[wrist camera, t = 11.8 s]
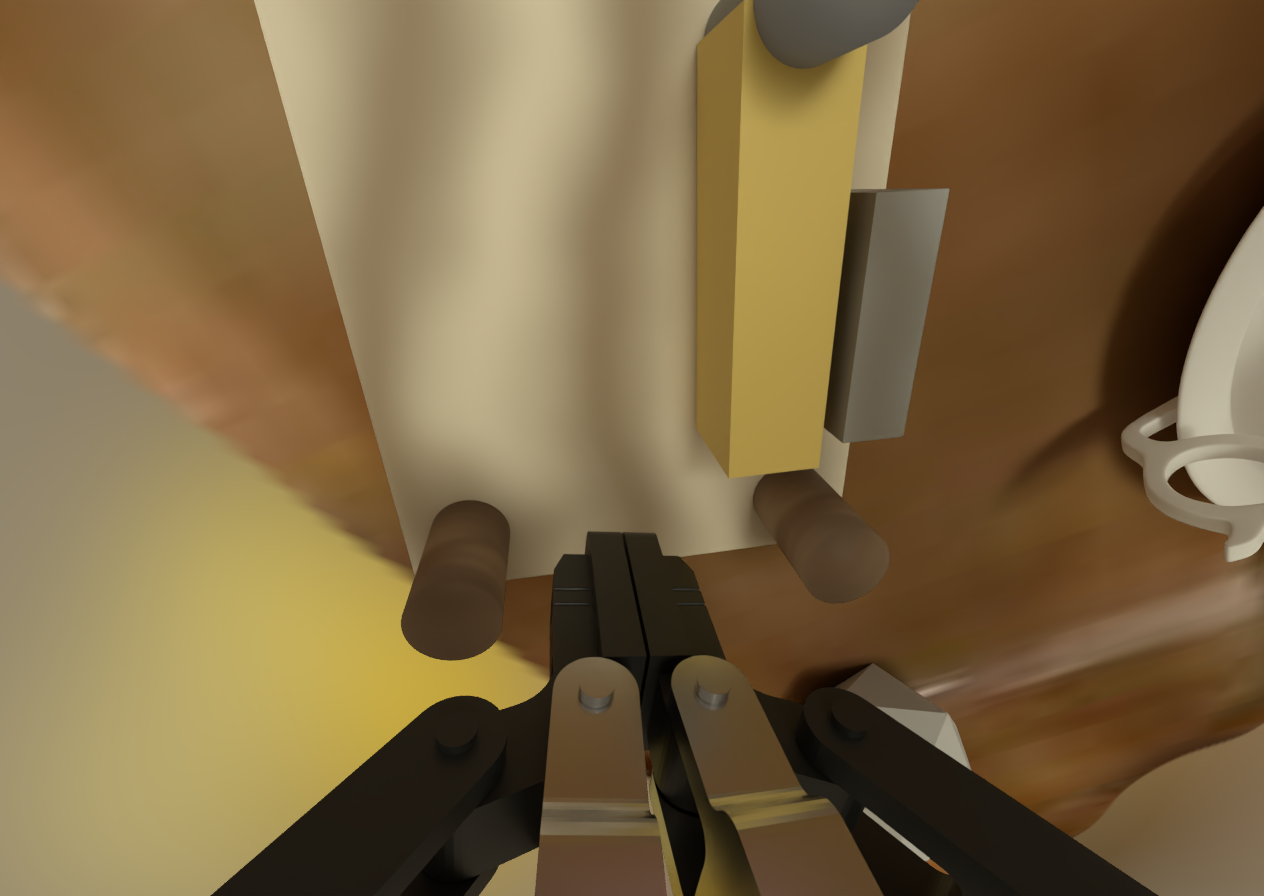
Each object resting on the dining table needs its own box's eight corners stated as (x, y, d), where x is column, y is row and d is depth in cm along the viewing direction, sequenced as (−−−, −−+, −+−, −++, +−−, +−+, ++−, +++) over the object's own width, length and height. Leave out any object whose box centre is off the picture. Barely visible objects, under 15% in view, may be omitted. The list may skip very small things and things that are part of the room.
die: (805, 760, 34) (976, 873, 28) (740, 799, 28) (944, 957, 22) (844, 637, 34) (1025, 723, 28) (788, 648, 28) (1007, 762, 22)
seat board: (899, -115, 16) (1107, -293, 10) (820, 517, 25) (903, 614, 20) (242, -124, 14) (24, -354, 8) (426, 569, 23) (388, 694, 18)
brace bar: (697, -15, 15) (796, -144, 9) (801, -16, 15) (958, -141, 9) (696, 428, 21) (755, 519, 15) (771, 420, 21) (857, 506, 15)
